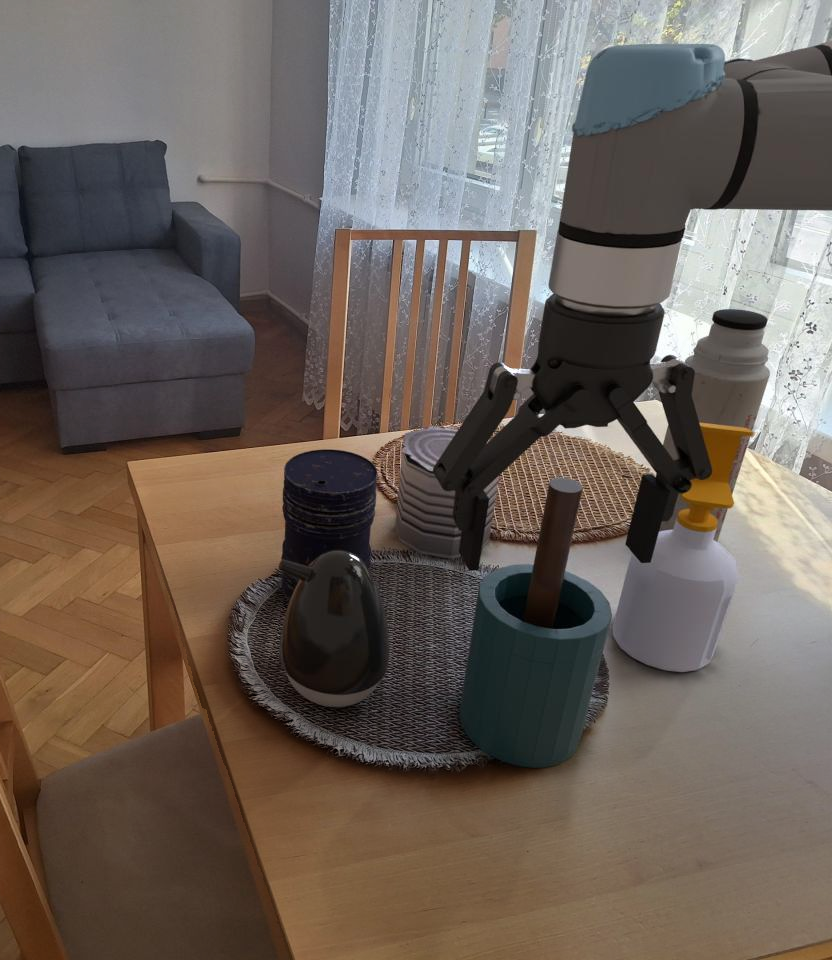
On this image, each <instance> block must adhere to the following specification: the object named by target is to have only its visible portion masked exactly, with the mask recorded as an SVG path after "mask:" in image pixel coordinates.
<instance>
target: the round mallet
mask: <svg viewBox="0 0 832 960" xmlns="http://www.w3.org/2000/svg"><path fill="white" fill-rule="evenodd" d="M583 489H584V487H583V485H582V484H581V483H580V482H579V481H577V480H576V479H571V478H568V477H556V478H552V479H551V480H549V482H548V487H547V491H546V496H545V497H546V499H545V504H544V507H543V513H542V519H541V524H540V527H539V528H540V529H539V534H538V538H537V544H536V549H535V554H534V561H533V570H532V575H531V580H530V585H529V591H528V596H527V601H526V606H525V611H524V617H523V622H525V623H528V624H531V625H534V626H537V627H543V628H550V629H553V625H554V621H555V616H556V611H557V607H558V602H559V597H560V593H561V588H562V583H563V579H564V574H565V571H566V569H567V564H568V559H569V555H570V550H571V546H572V541H573V536H574V531H575V528H576V523H577V518H578V513H579V508H580V503H581V499H582V495H583Z"/></svg>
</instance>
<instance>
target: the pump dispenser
mask: <svg viewBox="0 0 832 960" xmlns="http://www.w3.org/2000/svg"><path fill="white" fill-rule="evenodd" d="M278 570H279V571H280V572H281V573H282V572H285V573H287V574H289V575H291V576H293V577H295V578H298V579H300V580H299V582H298V584H297V586H296V588H295V590H294V592H293V594H292V597H291V599H290V601H289V602H288V605H287V608H286V611H285V614H284V619H283V621H282V622H283V623H282V628H281V633H280V638H279V648H278V649H279V650H278V651H279V661H280V664H281V666H282V669H283V670H284V672H285V674H286V677H287V679H288V681H289V682H290V684H291V685H292V687H293V688H294V690H295V691H297V692H298V693H299V695H301V696H302V697H303V698H305V699H307V700H308V701H310V702H312V703H314V704H317V705H319V706H324V707H328V708H344V707H349V706H353V705H356V704H358V703H360V702H362V701H364V700H365V699H367V698H368V697H369V696H370V695H371V694H372V693H373V692H374V691H375V690H376V688H377V687H378V685H379V684H380V682H381V681H382V680H383V678H384V677H385V675H386V674H387V671H388V669H389V664H390V637H389V636H390V635H389V634H390V633H389V626H388V620H387V614H386V609H385V605H384V602H383V599H382V596H381V593H380V590H379V587H378V585H377V583H376V581H375V578H374V576H373V574H372V572H371V570H370V571H369V569H368V567H367V566H366V564H365V563H364V562H363V561H362V559H361V558H359V557H358V556H357V555H355V554H354V553H352V552H349V551H346V550H340V549H335V550H329V551H326V552H324V553H322V554H320V555H319V556H318V557H317V558H316V559H315V560H314V561H313V562H312V563H311V564H310V565H309V566H306V565H302V564H299V563H295V562H292V561H288V560H285V559H282V560H281V559H280V561H279V563H278Z"/></svg>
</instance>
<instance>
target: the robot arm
mask: <svg viewBox="0 0 832 960" xmlns="http://www.w3.org/2000/svg"><path fill="white" fill-rule="evenodd" d="M571 132H572V138H571V145H570V152H569V159H568V163H567V164H568V165H567V171H566V177H565V185H564V190H563V197H562V204H561V210H560V217H559V223H558V229H557V232H556V236H555V242H554V249H553V255H552V260H551V261H552V262H551V266H550V272H549V279H548V285H547V286H548V289H549V290H550V291H551V295H549V297H547V298H546V300H545V302H544V307H543V314H542V319H541V326H540V331H539V337H538V344H537V355H536V359H535V361H534V363H533V365H532V366H531V367H530V368H529V369H527V368H526V369H523V368H510V367H508V366H507V365H505V363H503V362H500V361H499V362H494V363H492V365H491V366H490V367H489V370H488V375H487V378H486V382H485V385H484V390H483V392H482V393H481V395H480V396H479V398H478V399H477V400H476V402H475V404H474V405H473V407H471V409H470V411H469V413H468V415H466V417H465V419H464V420H463V422H462V423H461V425H460V427H459V428H458V429H457V430H458V431H457V433H456V434H455V436H454V437H453V439H452V440H451V442H450V443H449V445H448V446H447V448H446V449H445V451H444V452H443V454H442V455H441V457H440V458H439V460H438V461H437V463H436V464H435V466H434V468H433V473H434V475H435V476H436V478H437V480H438V482H439V483H440V485H441V487H442V488H443V490H445V491H452V490H453V491H455V499H454V506H453V514H452V517H453V520H454V522H455V524H456V526H457V527H458V529H459V531H462V532H461V539H460V546H459V553H460V555H461V557H460V558H461V559H462V560H463V562H464V565H465V566H466V568H467V570H468V571H470V572H472V571H479V569H480V563H481V556H482V552H483V551H482V550H483V548H482V544H483V537H484V531H485V524H486V518H487V511H488V505H489V498H488V496H487V495H486V493H485V492H484V489H485V488H486V487H487V486H488V485H489V484H490V483H492V482H493V481H494V480H495V479H496V478H497V477H498V476H499V477H500V475H501V474H503V473H504V472H505V471H506V470H507V469H508V468H509V467H510V466H512V465H513V463H514V462H516V461H517V460H518V459H519V458H520V457H521V456H522V455H523V454H524V453H525V452H526V451H527V450H528V449H529V448H530V447H531V446H533V445H534V444H535V443H536V442H537V441H538V440H539V439H541V438H542V437H543V438H544V437H548V436H549V435H550V434H552V432H554V431H555V430H556V429H557V428H558V427H559V426H562V427H563V428H564V429H577V428H581V427H585V426H590V427H594V428H607V427H608V426H609V424H610V423H613V422H615V421H616V420H617V422H618V423H619V424H620V426H621V428H623V430H624V431H625V433H626V434H627V436H628V437H629V438H630V439H631V441H632V442H633V443H634V445H635V446H636V448H637V449H638V450H639V452H640V454H642V456H643V457H644V459H645V460H646V461H647V463H648V464H649V465H650V467H651V468H652V470H653V471H654V472H655V475H654V474H653V473H643V474H642V475H641V479H640V482H639V487H638V491H637V495H636V499H635V503H634V507H633V511H632V515H631V519H630V523H629V527H628V531H627V535H626V539H625V543H624V545H625V546H626V547H627V548H628V550H629V551H630V552H631V553H633V554H634V555H635V557H636V558H637V559H638V560H639V561H640V562H641V563H651V560H652V556H653V552H654V548H655V545H656V541H657V537H658V534H659V530H660V526H661V522H663V521H669V520H670V518H671V517H672V515H673V512H674V508H675V504H676V501H677V497H678V494H679V493H680V494H683V493H686V492H688V491H689V490H690V489H691V487H692V483H691V481H690V480H692V479H695V478H697V479H699V480H705V479H707V478H709V477H710V476H711V474H712V467H711V463H710V459H709V456H708V452H707V449H706V445H705V441H704V438H703V434H702V431H701V427H700V423H699V420H698V416H697V413H696V409H695V406H694V402H693V398H692V390H693V383H694V376H695V371H694V369H693V368H692V367H690V366H689V365H687V364H686V363H685V361H684V360H682V359H680V358H679V357H677V356H676V355H674V354H668V355H667V354H666V355H665V356H663V357H662V359H661V360H660V362H654V363H651V360H652V359H653V358H654V356H655V354H656V352H657V348H658V343H659V339H660V334H661V331H662V326H663V322H664V319H665V314H666V310H665V309H664V307H663V305H662V304H661V303H663V302H664V301H666V300H667V299H668V298H670V296H671V292H672V287H673V282H674V277H675V273H676V269H677V263H678V259H679V254H680V249H681V246H682V241H683V238H684V236H685V232H686V224H687V220H688V218H689V215H690V213H691V210H704V211H705V210H707V211H709V210H711V211H717V210H760V211H761V210H765V211H766V210H769V211H828V212H831V211H832V40H829V41H825V42H821V43H819V44H817V45H813V46H809V47H803V48H798V49H794V50H791V51H790V50H789V51H786V52H783V53H779V54H775V55H771V56H767V57H763V58H759V59H755V60H753V59H750V58H740V57H739V58H737V57H736V58H732V59H728V60H726V53H725V51H724V50H723V48H721V46H719V45H716V44H711V43H639V44H638V43H635V44H623V45H615V46H609V47H605V48H604V49H602V50H601V51H599V52H598V53H597V54H596V55H595V56H593V58H592V59H591V61H590V62H589V64H588V66H587V68H586V73H585V77H584V82H583V86H582V91H581V95H580V100H579V104H578V108H577V111H576V116H575V121H574V122H573V123H572V126H571ZM651 384H652V386H653V388H655V389H656V390H658V394H659V398H660V401H661V405H662V409H663V411H664V416H665V418H666V421H667V426H668V425H669V429H670V432H671V435H672V439H673V442H674V445H675V449H676V452H677V455H678V459H676V460H673V459H672V457H671V456H670V454H669V453H668V452H667V450H666V449H665V447H664V446H663V443H662V442H661V440H660V439H659V438H658V436H657V435H656V433H655V432H654V431H653V429H652V427H650V425H649V424H648V420H647V419H646V418H645V416H644V414H643V413H642V412H641V411H640V409H639V408H638V406H637V405H636V404H635V402H636V400H638V399H639V398H640V396H641V395H642V394H644V392H645V391H646V390H647V389H648V388H649V387H650V386H651ZM529 388H530V390H531V392H532V394H531V396H529V398H527V399H526V400H525V401H524V402H523V403H522V404H521V405H520V406H519V408H518V409H517V410H518V411H517V414H516V415H515V416H514V417H512V419H511V420H509V422H507V423H506V424H505V426H503V427H502V428H501V429H499V431H498V432H497V433H496V434H495V435H493V434H494V433H495V432H496V430H497V429H498V427H499V426H500V424H501V423H502V421H503V420H504V419H505V418H506V416H507V414H508V412H509V410H510V409H511V406H512V404H513V401H518V400H520V399H521V397H522V393H523V392H524V391H525V390H526V389H529ZM543 410H544V413H543V415H541V416H539V415H540V413H541V412H542V411H543ZM487 442H488V443H487ZM486 443H487V444H486ZM656 473H657V474H656ZM655 476H656V477H655Z"/></svg>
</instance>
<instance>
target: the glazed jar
mask: <svg viewBox="0 0 832 960" xmlns="http://www.w3.org/2000/svg"><path fill="white" fill-rule="evenodd" d="M533 565H534V563H525V564H524V563H523V564H522V563H521V564H511V565H507V566H504V567H499V568H496V569H494V570H493V571H491V572H489V573H488V574H486V575H485V576H484V577H483V579H482V580H481V582H480V583H479V584H478V591H477V596H476V604H475V610H474V616H473V623H472V629H471V633H470V634H471V635H470V641H469V648H468V655H467V660H466V666H465V673H464V679H463V685H462V692H461V698H460V708H459V720H460V725H461V727H462V729H463V731H464V733H465V734H466V736H467V738H469V740H470V741H471V742H472V743H473V744H474V745H475V746H476V747H478V749H480V750H482V751H483V752H484V753H486V754H487V755H489V756H490V757H492V758H494V759H497V760H499V761H501V762H504V763H506V764H509V765H513V766H517V767H522V768H529V769H530V768H531V769H542V768H550V767H554V766H557V765H560V764H562V763H564V762H566V761H568V760H569V759H570V758H571V757H572V756H574V754H575V753H576V752H577V749H578V747H579V745H580V740H581V738H582V735H583V730H584V727H585V723H586V719H587V716H588V713H589V708H590V705H591V704H590V703H591V700H592V696H593V692H594V688H595V684H596V680H597V676H598V674H599V673H598V672H599V668H600V664H601V660H602V656H603V652H604V648H605V644H606V641H607V637H608V633H609V630H610V626H611V621H612V617H613V613H612V607H611V603H610V601H609V599H607V597H606V596H605V595H604V593H603V592H602V591H601V590H600V589H599V588H598V587H596V585H594V584H592V583H591V582H590V581H588V580H586V579H585V578H582V577H581V576H578V575H576V574H574V573H572V572H569V571H567V570H565V574H564V579H563V583H562V588H561V593H560V597H559V602H558V607H557V611H556V616H555V621H554V625H553V629H550V628H543V627H537V626H534V625H531V624H528V623H525V622H523V617H524V611H525V606H526V601H527V596H528V591H529V585H530V580H531V575H532V570H533Z"/></svg>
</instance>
